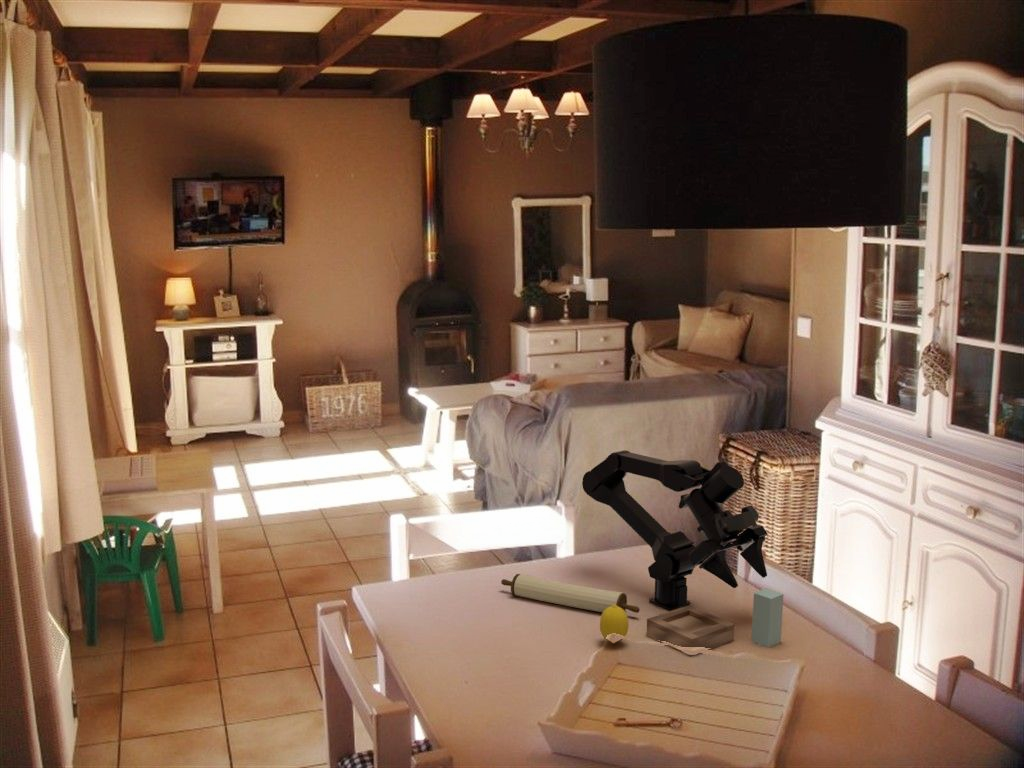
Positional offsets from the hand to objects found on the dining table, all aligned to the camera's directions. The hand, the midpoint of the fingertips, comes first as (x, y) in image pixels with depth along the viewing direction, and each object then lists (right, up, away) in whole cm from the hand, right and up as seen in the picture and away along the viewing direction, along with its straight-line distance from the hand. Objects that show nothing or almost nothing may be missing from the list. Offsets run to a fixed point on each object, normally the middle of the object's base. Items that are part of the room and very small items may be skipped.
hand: (751, 581), depth 205 cm
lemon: (-28, -12, -3) cm, 30 cm away
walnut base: (-12, -11, 0) cm, 17 cm away
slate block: (+3, -12, -1) cm, 12 cm away
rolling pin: (-35, -8, +16) cm, 40 cm away
